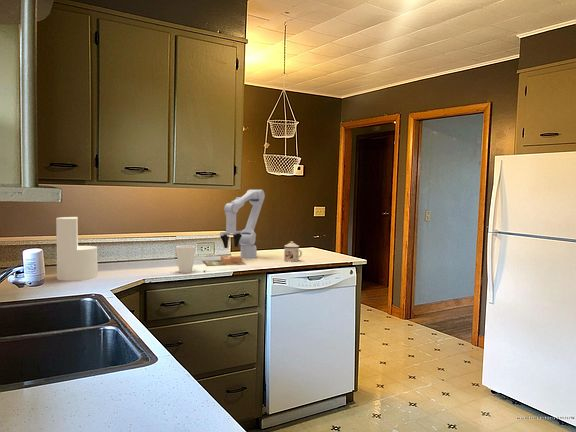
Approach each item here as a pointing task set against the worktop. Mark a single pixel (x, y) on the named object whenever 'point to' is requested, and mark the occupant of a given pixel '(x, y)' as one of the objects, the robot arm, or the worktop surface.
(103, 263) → the worktop surface
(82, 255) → the cream l-shaped block
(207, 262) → the board
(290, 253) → the teacup with lid
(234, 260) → the t block
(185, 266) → the foam cup
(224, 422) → the worktop surface
